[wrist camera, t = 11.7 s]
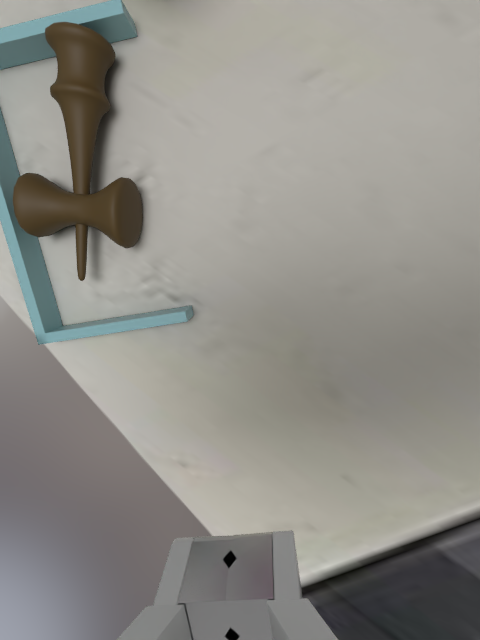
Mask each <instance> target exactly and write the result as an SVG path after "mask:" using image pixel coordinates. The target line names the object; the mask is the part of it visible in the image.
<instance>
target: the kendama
mask: <svg viewBox="0 0 480 640" xmlns="http://www.w3.org/2000/svg"><path fill="white" fill-rule="evenodd" d="M45 37H46V41H47V43H48V44H49V45H50V47H51V48H52V49H53V50H54V52H55V54H56V57H57V62H58V75H57V79H56V82H55V83H54V84H53V85H52V86H51V87H50V92H51V96H52V97H53V98H54V99H55V100H56V101H57V102H58V104H59V105H60V107H61V110H62V113H63V117H64V121H65V127H66V132H67V139H68V146H69V152H70V160H71V169H72V179H73V190H74V193H71V192H68V191H65V190H63V189H61V188H60V187H58V186H57V185H55V184H54V183H52V182H51V181H49V180H48V179H46V178H44V177H43V176H41V175H39V174H34V173H26V174H24V175H22V176H20V177H18V179H17V182H16V184H15V186H14V191H13V206H14V213H15V216H16V218H17V221H18V223H19V225H20V227H21V228H22V229H23V230H24V231H25V232H26V233H28V234H30V235H33V236H36V237H44V236H49V235H52V234H54V233H55V232H57V231H59V230H61V229H63V228H65V227H67V226H71V225H75V227H76V252H77V271H78V277H79V279H80V280H81V281H83V280H84V279H85V274H86V260H87V234H88V226H91V227H95V228H97V229H99V230H100V231H102V232H103V233H104V234H105V235H107V236H108V237H109V238H110V239H111V240H113V241H114V242H115V243H117V244H118V245H120V246H122V247H125V248H130V247H133V246H134V245H135V244H136V242H137V241H138V239H139V236H140V232H141V228H142V219H143V214H142V202H141V196H140V193H139V191H138V188H137V186H136V184H135V183H134V182H133V181H132V180H131V179H129V178H122V177H121V178H119V179H117V180H115V181H114V182H112V183H111V184H109V185H108V186H107V187H105V188H104V189H102V190H100V191H99V192H97V193H94V194H90V182H91V172H92V164H93V156H94V149H95V143H96V137H97V131H98V127H99V123H100V120H101V118H102V116H103V115H104V114H105V113H106V112H108V111H109V109H110V107H111V105H110V103H109V101H108V99H107V98H106V95H105V87H104V85H105V76H106V72H107V70H108V69H109V68H110V67H111V66H112V65H113V63H114V60H115V52H114V50H113V48H112V46H111V45H110V43H109V42H108V41H107V40H106V39H105V38H104V37H103V36H102V35H100V34H99V33H97V32H95V31H94V30H92V29H90V28H87V27H85V26H82V25H79V24H76V23H70V22H56V23H53V24H51V25H50V26H48V27H47V28H45Z"/></svg>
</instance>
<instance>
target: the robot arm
mask: <svg viewBox="0 0 480 640" xmlns="http://www.w3.org/2000/svg"><path fill="white" fill-rule="evenodd" d="M117 640H338V639H337V638H336V637H335V635H334V634H333V633H332V631H331V630H330V628H329V627H328V626H327V624H326V623H325V622H324V620H323V619H322V618H321V616H320V615H319V614H318V612H317V611H316V610H315V608H314V607H313V606H312V604H311V603H310V601H309V600H308V599H302V592H301V584H300V577H299V569H298V562H297V554H296V547H295V540H294V533H293V531H279V532H267V533H254V534H241V535H234V536H209V537H194V538H176V539H175V540H174V542H173V543H172V545H171V548H170V552H169V555H168V558H167V561H166V565H165V568H164V571H163V575H162V578H161V581H160V584H159V587H158V591H157V594H156V597H155V601H154V604H153V606H147V607H146V608H145V609H144V610H143V611H142V612H141V613H140V614H139V615H138V617H137V618H136V619H135V620H134V621H133V622H132V623H131V624H130V625H129V626H128V628H127V629H126V630H125V631H124V632H123V633H122V634H121V635H120V637H119V638H118V639H117Z"/></svg>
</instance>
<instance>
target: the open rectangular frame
mask: <svg viewBox="0 0 480 640" xmlns="http://www.w3.org/2000/svg"><path fill="white" fill-rule="evenodd" d="M56 22H70V23H76V24H79V25H82V26H85V27H87V28H90V29H92V30H94V31H95V32H97V33H99V34H100V35H102V36H103V37H104V38H105V39H106V40H107V41H108V42H109V43H113V42H117V41H121V40H125V39H130V38H134V37H137V32H136V27H135V23H134V21H133V20H132V18H131V16H130V14H129V12H128V11H127V9H126V7H125V5H124V4H123V2H122V0H111V1H107V2H103V3H99V4H95V5H91V6H87V7H83V8H79V9H75V10H71V11H67V12H63V13H59V14H55V15H52V16H48V17H44V18H40V19H36V20H32V21H28V22H24V23H20V24H16V25H12V26H8V27H4V28H0V70H1V69H5V68H9V67H13V66H17V65H21V64H26V63H30V62H34V61H38V60H42V59H46V58H51V57H55V56H56V54H55V52H54V50H53V49H52V48H51V47H50V45H49V44H48V43H47V41H46V37H45V28H47V27H48V26H50V25H51V24H53V23H56ZM18 177H20V175H19V171H18V168H17V164H16V161H15V157H14V154H13V150H12V147H11V143H10V140H9V136H8V133H7V129H6V126H5V122H4V119H3V116H2V112H1V109H0V221H1V224H2V227H3V231H4V234H5V237H6V240H7V244H8V247H9V250H10V253H11V257H12V260H13V263H14V267H15V270H16V273H17V276H18V280H19V283H20V286H21V289H22V293H23V296H24V299H25V302H26V306H27V309H28V312H29V315H30V319H31V322H32V325H33V328H34V332H35V335H36V338H37V342H38V344H45V343H52V342H58V341H65V340H71V339H78V338H84V337H91V336H97V335H103V334H110V333H116V332H123V331H129V330H136V329H142V328H149V327H155V326H162V325H168V324H175V323H181V322H187V321H188V320H189V319H190V318H191V317H192V316H193V310H192V306H185V307H179V308H173V309H167V310H160V311H154V312H148V313H142V314H135V315H129V316H123V317H116V318H110V319H104V320H98V321H91V322H85V323H79V324H72V325H66V326H63V324H62V321H61V317H60V314H59V311H58V307H57V304H56V300H55V297H54V293H53V290H52V286H51V283H50V279H49V276H48V272H47V269H46V265H45V262H44V258H43V255H42V251H41V248H40V244H39V241H38V237H36V236H33V235H30V234H28V233H26V232H25V231H24V230H23V229H22V228H21V227H20V225H19V223H18V221H17V218H16V216H15V213H14V206H13V191H14V186H15V184H16V182H17V179H18Z"/></svg>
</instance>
